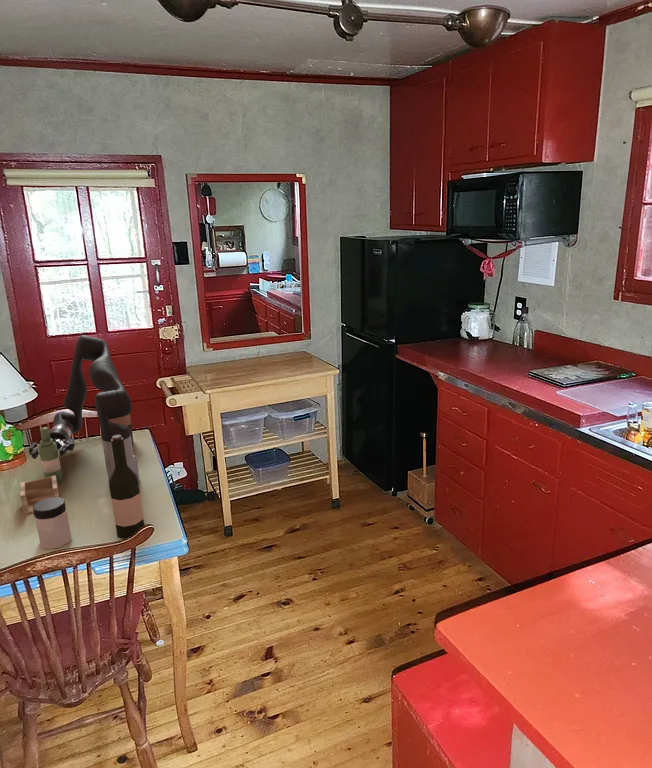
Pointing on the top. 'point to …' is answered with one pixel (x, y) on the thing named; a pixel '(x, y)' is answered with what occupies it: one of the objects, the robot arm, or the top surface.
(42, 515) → the jar
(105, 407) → the robot arm
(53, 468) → the green bottle
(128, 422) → the travel mug
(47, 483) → the cradle
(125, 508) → the wine bottle
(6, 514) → the top surface
